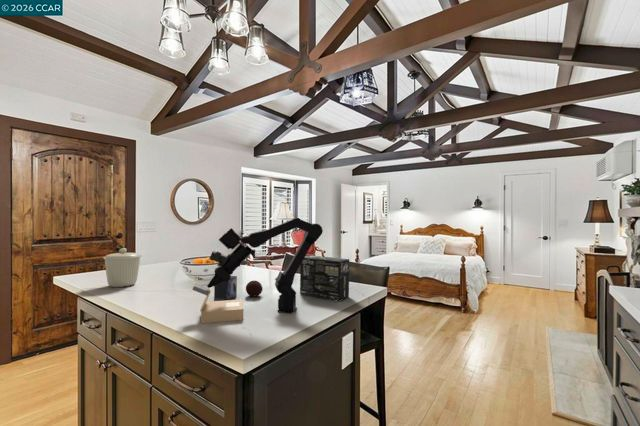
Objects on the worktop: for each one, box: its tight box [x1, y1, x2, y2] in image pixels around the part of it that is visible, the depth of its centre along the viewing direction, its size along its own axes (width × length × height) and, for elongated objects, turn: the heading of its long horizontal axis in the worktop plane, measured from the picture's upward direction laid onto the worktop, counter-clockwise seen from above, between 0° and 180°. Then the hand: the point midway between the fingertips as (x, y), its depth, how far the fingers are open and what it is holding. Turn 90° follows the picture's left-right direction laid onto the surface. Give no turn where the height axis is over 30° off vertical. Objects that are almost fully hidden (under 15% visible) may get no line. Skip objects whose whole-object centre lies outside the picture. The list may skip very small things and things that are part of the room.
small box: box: [213, 275, 238, 301], centre depth 142 cm, size 11×6×10 cm, turn 168°
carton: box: [200, 299, 244, 324], centre depth 119 cm, size 15×14×4 cm
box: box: [299, 254, 350, 302], centre depth 149 cm, size 23×10×19 cm, turn 58°
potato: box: [245, 280, 263, 297], centre depth 148 cm, size 8×9×8 cm
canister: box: [102, 247, 142, 288], centre depth 170 cm, size 18×18×21 cm
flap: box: [192, 283, 213, 312], centre depth 116 cm, size 6×13×6 cm
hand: (207, 287), depth 117 cm, fingers closed
